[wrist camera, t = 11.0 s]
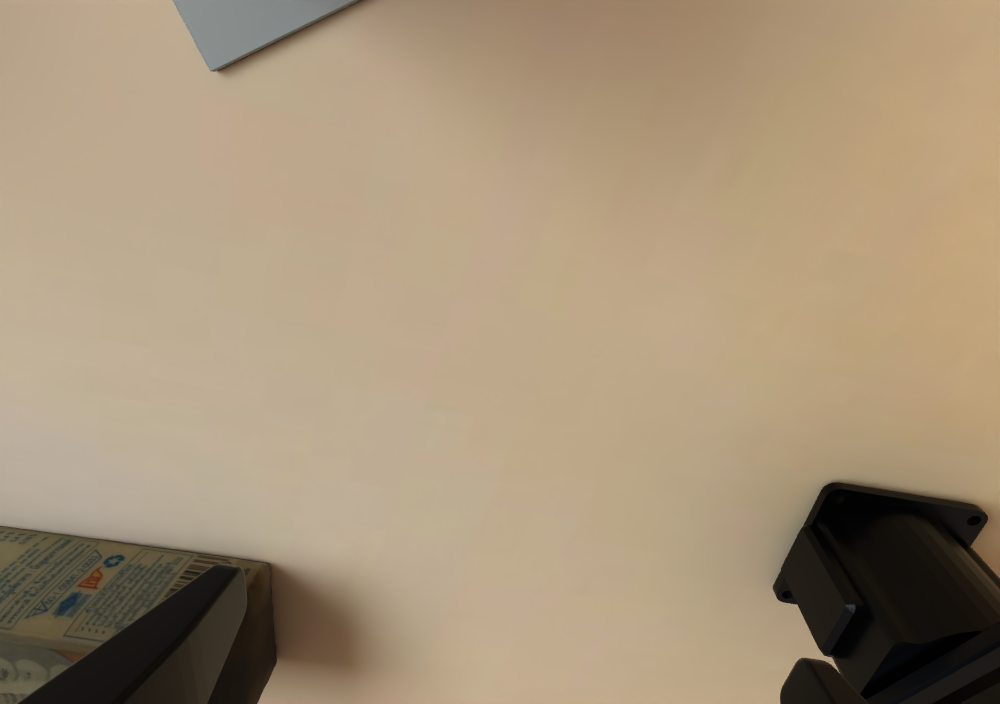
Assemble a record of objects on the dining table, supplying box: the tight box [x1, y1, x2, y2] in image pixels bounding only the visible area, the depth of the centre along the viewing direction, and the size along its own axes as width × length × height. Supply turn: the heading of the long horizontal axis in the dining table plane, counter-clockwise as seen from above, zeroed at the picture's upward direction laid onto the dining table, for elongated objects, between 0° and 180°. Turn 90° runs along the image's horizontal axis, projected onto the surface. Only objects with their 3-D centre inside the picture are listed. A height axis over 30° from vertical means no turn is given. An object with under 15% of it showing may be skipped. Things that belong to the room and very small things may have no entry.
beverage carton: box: [0, 526, 277, 704], centre depth 26 cm, size 8×19×7 cm, turn 84°
